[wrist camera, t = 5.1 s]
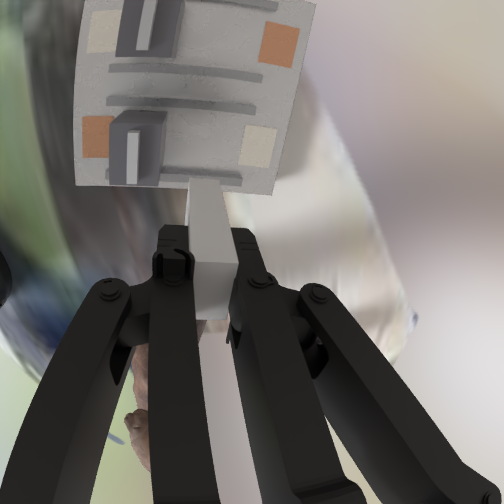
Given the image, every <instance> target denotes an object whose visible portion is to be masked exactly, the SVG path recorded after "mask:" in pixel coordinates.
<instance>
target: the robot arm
mask: <svg viewBox="0 0 504 504" xmlns="http://www.w3.org/2000/svg"><path fill="white" fill-rule="evenodd" d="M152 270H153V276H152V277H151V278H150V279H149V280H148V281H146V282H144V283H142V284H139V285H135V286H130V287H129V285H128V284H127V283H126V282H124V281H123V280H120V279H118V278H107V279H102V280H100V281H98V282H96V283H95V284H94V285H93V286H92V288H91V289H90V291H89V292H88V294H87V296H86V297H85V299H84V301H83V302H82V304H81V306H80V308H79V309H78V311H77V313H76V314H75V316H74V318H73V320H72V321H71V323H70V325H69V327H68V329H67V330H66V332H65V334H64V336H63V338H62V340H61V342H60V343H59V345H58V347H57V349H56V351H55V353H54V355H53V357H52V359H51V361H50V363H49V365H48V367H47V369H46V371H45V373H44V375H43V377H42V379H41V382H40V384H39V386H38V388H37V390H36V393H35V395H34V397H33V399H32V402H31V404H30V406H29V408H28V411H27V413H26V416H25V418H24V421H23V423H22V426H21V428H20V431H19V434H18V436H17V439H16V441H15V445H14V447H13V450H12V453H11V455H10V458H9V461H8V464H7V468H6V471H5V474H4V477H3V481H2V485H1V488H0V504H90V499H91V495H92V491H93V487H94V483H95V479H96V475H97V471H98V467H99V464H100V460H101V456H102V453H103V449H104V445H105V442H106V439H107V435H108V432H109V429H110V425H111V422H112V419H113V415H114V412H115V409H116V406H117V403H118V399H119V397H120V393H121V391H122V388H123V385H124V382H125V379H126V376H127V373H128V370H129V367H130V364H131V361H132V359H133V356H134V353H135V350H136V346H138V345H142V344H146V343H149V344H148V433H149V453H150V468H151V479H152V491H153V501H154V504H221V502H220V499H219V494H218V488H217V483H216V477H215V471H214V465H213V459H212V453H211V446H210V438H209V432H208V424H207V417H206V409H205V401H204V393H203V385H202V376H201V367H200V357H199V347H198V335H197V324H196V319H198V320H227V317H228V312H229V315H230V324H229V329H228V333H227V338H226V343H227V344H229V341H230V342H231V348H232V353H233V359H234V365H235V370H236V376H237V381H238V387H239V392H240V397H241V402H242V407H243V413H244V418H245V423H246V428H247V433H248V438H249V443H250V447H251V452H252V457H253V461H254V466H255V471H256V475H257V479H258V484H259V489H260V493H261V498H262V504H367V502H366V498H365V496H364V494H363V492H362V490H361V488H360V487H359V486H358V485H357V484H356V483H355V482H353V481H351V480H349V479H347V477H346V476H345V474H344V472H343V470H342V467H341V464H340V461H339V457H338V454H337V451H336V449H335V446H334V442H333V439H332V436H331V434H330V431H329V428H328V425H327V422H326V419H325V417H326V418H327V420H328V421H329V423H330V425H331V426H332V428H333V429H334V431H335V433H336V434H337V436H338V437H339V439H340V440H341V442H342V444H343V445H344V447H345V448H346V450H347V451H348V453H349V454H350V456H351V457H352V459H353V461H354V462H355V463H356V465H357V467H358V468H359V470H360V471H361V473H362V474H363V476H364V478H365V479H366V481H367V482H368V484H369V485H370V487H371V488H372V490H373V491H374V493H375V494H376V496H377V497H378V499H379V500H380V501H381V503H383V504H501V493H500V490H499V488H498V487H497V486H496V485H495V484H493V483H492V482H490V481H489V480H487V479H486V478H484V477H483V476H481V475H480V474H479V473H477V472H476V471H474V470H473V469H471V468H470V467H468V466H467V465H466V464H464V463H463V462H462V461H461V459H460V458H459V456H458V455H457V454H456V452H455V451H454V449H453V448H452V447H451V445H450V444H449V442H448V441H447V439H446V438H445V437H444V435H443V434H442V432H441V431H440V430H439V428H438V427H437V426H436V424H435V423H434V421H433V420H432V419H431V417H430V416H429V415H428V413H427V412H426V411H425V409H424V408H423V407H422V405H421V404H420V403H419V401H418V400H417V398H416V397H415V396H414V395H413V393H412V392H411V391H410V389H409V388H408V387H407V385H406V384H405V383H404V381H403V380H402V379H401V378H400V376H399V375H398V374H397V372H396V371H395V370H394V368H393V367H392V366H391V364H390V363H389V362H388V360H387V359H386V358H385V357H384V355H383V354H382V353H381V352H380V350H379V349H378V348H377V346H376V345H375V344H374V343H373V341H372V340H371V339H370V338H369V336H368V335H367V334H366V333H365V331H364V330H363V329H362V328H361V326H360V325H359V324H358V323H357V321H356V320H355V319H354V318H353V316H352V315H351V314H350V313H349V311H348V310H347V309H346V308H345V306H344V305H343V304H342V303H341V302H340V300H339V299H338V298H337V297H336V295H335V294H334V293H333V292H332V291H331V290H330V289H329V288H327V287H325V286H323V285H321V284H317V283H308V284H306V285H304V286H303V287H302V288H301V290H300V291H296V290H292V289H288V288H285V287H282V286H280V285H279V284H278V282H277V280H276V278H275V277H274V276H273V275H271V274H270V273H268V272H267V271H266V268H265V265H264V262H263V259H262V256H261V253H260V251H259V247H258V245H257V241H256V238H255V236H254V235H253V233H252V232H251V231H250V230H249V229H247V228H232V227H230V224H229V220H228V215H227V211H226V207H225V202H224V198H223V194H222V189H221V185H220V180H215V179H203V178H189V186H188V195H187V205H186V215H185V226H184V225H166V224H165V225H164V226H163V227H162V228H161V229H160V230H159V235H158V244H157V251H156V252H155V253H154V255H153V258H152ZM11 284H12V282H11V275H10V271H9V268H8V266H7V263H6V261H5V259H4V258H3V256H2V254H1V253H0V308H1V307H2V306H3V305H4V303H5V302H6V299H7V297H8V295H9V293H10V291H11ZM319 339H320V340H319ZM324 415H325V416H324Z"/></svg>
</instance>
